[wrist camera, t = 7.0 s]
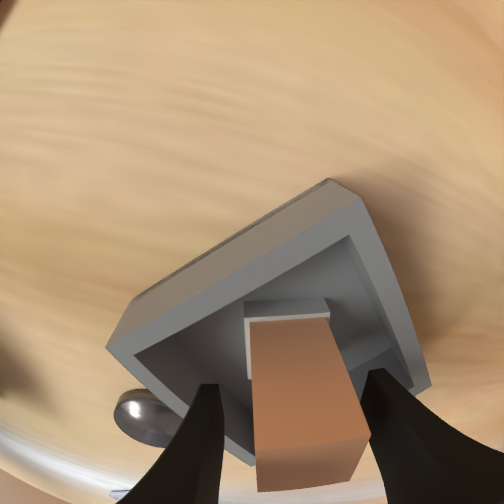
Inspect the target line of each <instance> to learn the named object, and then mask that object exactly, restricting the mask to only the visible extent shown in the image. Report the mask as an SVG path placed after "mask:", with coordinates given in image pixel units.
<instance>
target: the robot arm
mask: <svg viewBox="0 0 504 504" xmlns="http://www.w3.org/2000/svg"><path fill="white" fill-rule="evenodd" d="M360 405H361V408H362V411H363V413H364V416H365V419H366V422H367V424H368V427H369V430H370V432H371V436H370V439H369V443H370V446H371V448H372V451H373V454H374V456H375V459H376V462H377V464H378V467H379V470H380V472H381V476H382V479H383V482H384V487H385V491H386V496H387V501H388V504H504V453H502V452H500V451H497V450H494V449H492V448H490V447H487V446H485V445H483V444H481V443H479V442H477V441H475V440H473V439H471V438H469V437H468V436H466V435H464V434H463V433H461V432H459V431H458V430H456V429H455V428H453V427H452V426H450V425H449V424H447V423H446V422H445V421H443V420H442V419H441V418H439V417H438V416H437V415H435V414H434V413H433V412H432V411H430V410H429V409H428V408H427V407H426V406H424V405H423V404H422V403H421V402H420V401H419V400H418V399H416V398H415V397H414V396H413V395H412V394H411V393H410V392H409V391H408V390H407V389H406V388H405V387H404V386H402V385H401V384H400V383H399V382H398V381H397V380H396V379H395V378H394V377H393V376H392V375H391V374H390V373H389V372H388V371H387V370H386V369H385V368H379V369H374V370H369V371H368V375H367V379H366V382H365V386H364V390H363V393H362V396H361V400H360ZM224 443H225V418H224V412H223V406H222V400H221V394H220V388H219V384H200V385H199V386H198V389H197V392H196V394H195V396H194V399H193V401H192V403H191V405H190V407H189V409H188V411H187V413H186V415H185V417H184V419H183V421H182V422H181V424H180V426H179V428H178V429H177V431H176V433H175V435H174V436H173V438H172V439H171V441H170V442H169V444H168V445H167V447H166V448H165V450H164V451H163V453H162V454H161V455H160V457H159V458H158V460H157V461H156V462H155V463H154V465H153V466H152V467H151V468H150V470H149V471H148V472H147V473H146V474H145V475H144V477H143V478H142V479H141V480H140V481H139V482H138V483H137V484H136V485H135V486H134V487H133V488H132V489H131V490H130V491H120V492H109V496H111V497H112V498H114V499H116V500H118V502H117V503H116V504H218V497H219V487H220V478H221V470H222V461H223V452H224Z"/></svg>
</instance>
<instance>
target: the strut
mask: <svg viewBox="0 0 504 504" xmlns="http://www.w3.org/2000/svg"><path fill="white" fill-rule="evenodd" d="M329 321H330V310H329V308H328V306H327V304H326V301H325V299H324V297H320V298H306V299H291V300H274V301H255V302H244V328H245V344H246V359H247V374H248V379H252V398H253V420H254V442H255V459H256V474H257V488H258V492H270V491H283V490H293V489H302V488H310V487H317V486H324V485H330V484H335V483H341V482H346V481H349V480H350V479H351V477H352V475H353V473H354V471H355V469H356V467H357V465H358V463H359V461H360V458H361V456H362V454H363V452H364V450H365V448H366V445H367V443H368V441H369V439H370V436H371V432H370V430H369V427H368V424H367V422H366V419H365V416H364V413H363V411H362V408H361V405H360V403H359V400H358V398H357V395H356V392H355V390H354V387H353V385H352V382H351V379H350V377H349V374H348V372H347V369H346V367H345V364H344V362H343V359H342V357H341V354H340V352H339V349H338V347H337V344H336V342H335V339H334V337H333V334H332V332H331V330H330V327H329Z"/></svg>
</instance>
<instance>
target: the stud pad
mask: <svg viewBox="0 0 504 504" xmlns="http://www.w3.org/2000/svg"><path fill="white" fill-rule="evenodd" d="M114 420H115V422H116V424H117V425H118V427H119V428H120V429H121V430H122V431H123V432H124V433H126V434H127V435H128V436H130V437H131V438H133V439H135V440H137V441H139V442H141V443H144V444H147V445H150V446H154V447H161V448H166V447H167V445H168V444H169V442H170V441H171V439H172V438H173V436H174V435H175V433H176V431H177V429H178V428H179V426H180V424H181V422H182V421H183V418H182V417H180V416H179V415H178V414H177V413H175V412H174V411H173V410H172V409H171V408H169V407H168V406H167V405H166V404H165V403H163V402H162V401H161V400H160V399H159V398H158V397H156V396H155V395H154V394H153V393H152V392H151V391H150V390H148V389H135V390H130V391H127V392H125V393H124V394H122V395H121V396H120V398H119V400H118V402H117V405H116V408H115V411H114Z"/></svg>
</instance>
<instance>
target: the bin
mask: <svg viewBox="0 0 504 504" xmlns="http://www.w3.org/2000/svg"><path fill="white" fill-rule="evenodd" d="M320 297H324V299H325V301H326V304H327V306H328V308H329V310H330V321H329V327H330V330H331V332H332V334H333V337H334V339H335V342H336V344H337V347H338V349H339V352H340V354H341V357H342V359H343V362H344V364H345V367H346V369H347V372H348V374H349V377H350V379H351V382H352V385H353V387H354V390H355V392H356V395H357V398H358V400H359V403H360V400H361V396H362V393H363V390H364V386H365V382H366V379H367V375H368V371H369V370H374V369H379V368H385V369H386V370H387V371H388V372H389V373H390V374H391V375H392V376H393V377H394V378H395V379H396V380H397V381H398V382H399V383H400V384H401V385H402V386H404V387H405V388H406V389H407V390H408V391H409V392H410V393H411V394H412V395H413V396H416V395H417V394H419V393H421V392H422V391H424V390H425V389H427V388H429V387H430V386H432V385H431V381H430V378H429V374H428V370H427V367H426V363H425V360H424V357H423V353H422V350H421V347H420V344H419V340H418V337H417V334H416V331H415V328H414V325H413V322H412V319H411V316H410V313H409V311H408V308H407V305H406V302H405V299H404V297H403V294H402V291H401V289H400V286H399V283H398V281H397V278H396V276H395V273H394V271H393V268H392V266H391V263H390V261H389V258H388V256H387V254H386V251H385V249H384V247H383V244H382V242H381V240H380V237H379V235H378V233H377V231H376V228H375V226H374V224H373V222H372V220H371V218H370V215H369V213H368V211H367V209H366V207H365V205H364V203H363V201H362V199H361V197H360V196H358V195H356V194H355V193H353V192H351V191H350V190H348V189H346V188H344V187H343V186H341V185H339V184H337V183H336V182H334V181H332V180H330V179H329V178H327V179H325V180H323V181H322V182H320V183H318V184H317V185H315V186H313V187H312V188H310V189H308V190H307V191H305V192H303V193H302V194H300V195H298V196H297V197H295V198H293V199H292V200H290V201H288V202H287V203H285V204H283V205H282V206H280V207H278V208H277V209H275V210H273V211H272V212H270V213H268V214H267V215H265V216H263V217H262V218H260V219H259V220H257V221H255V222H254V223H252V224H250V225H249V226H247V227H245V228H244V229H242V230H241V231H239V232H237V233H236V234H234V235H232V236H231V237H229V238H228V239H226V240H224V241H223V242H221V243H220V244H218V245H216V246H215V247H213V248H212V249H210V250H208V251H207V252H205V253H204V254H202V255H200V256H199V257H197V258H196V259H194V260H192V261H191V262H189V263H188V264H186V265H185V266H183V267H181V268H180V269H178V270H177V271H175V272H174V273H172V274H170V275H169V276H167V277H166V278H164V279H163V280H161V281H159V282H158V283H156V284H155V285H153V286H152V287H150V288H149V289H147V290H146V291H144V292H142V293H141V294H139V295H138V296H136V297H135V298H133V299H132V300H131V302H130V304H129V305H128V307H127V309H126V311H125V312H124V314H123V316H122V318H121V319H120V321H119V323H118V325H117V326H116V328H115V330H114V332H113V334H112V335H111V337H110V339H109V341H108V343H107V345H106V346H105V348H106V349H107V350H108V351H109V352H110V353H111V354H112V355H113V356H114V357H115V358H116V359H117V360H118V361H119V362H120V363H121V364H122V365H123V366H124V367H125V368H126V369H127V370H128V371H129V372H130V373H131V374H132V375H133V376H134V377H135V378H136V379H137V380H138V381H140V382H141V383H142V384H143V385H144V386H145V387H146V388H147V389H148V390H150V391H151V392H152V393H153V394H154V395H155V396H156V397H158V398H159V399H160V400H161V401H162V402H163V403H165V404H166V405H167V406H168V407H169V408H171V409H172V410H173V411H174V412H175V413H177V414H178V415H179V416H180V417H182V418H183V419H184V417H185V415H186V413H187V411H188V409H189V407H190V405H191V403H192V401H193V399H194V396H195V394H196V392H197V389H198V386H199V385H200V384H219V388H220V394H221V400H222V406H223V412H224V418H225V443H224V449H225V450H226V451H228V452H229V453H231V454H232V455H234V456H235V457H237V458H238V459H240V460H241V461H243V462H245V463H246V464H248V465H249V466H254V465H256V459H255V442H254V420H253V398H252V379H248V374H247V359H246V344H245V328H244V302H255V301H274V300H291V299H306V298H320Z"/></svg>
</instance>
